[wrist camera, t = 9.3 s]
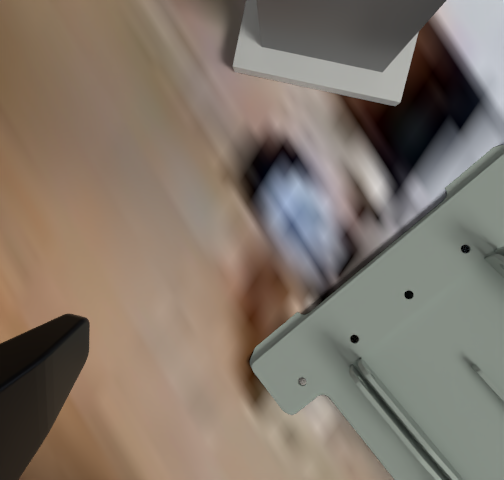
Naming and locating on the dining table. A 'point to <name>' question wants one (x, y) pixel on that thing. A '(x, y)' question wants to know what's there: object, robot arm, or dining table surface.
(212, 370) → the dining table surface
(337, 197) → the dining table surface
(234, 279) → the dining table surface
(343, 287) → the metal bracket
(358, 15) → the chute block
